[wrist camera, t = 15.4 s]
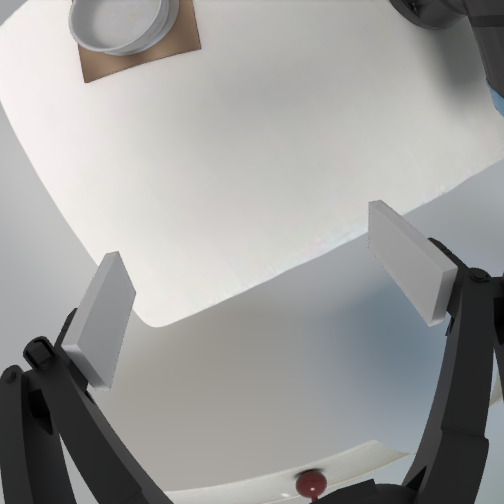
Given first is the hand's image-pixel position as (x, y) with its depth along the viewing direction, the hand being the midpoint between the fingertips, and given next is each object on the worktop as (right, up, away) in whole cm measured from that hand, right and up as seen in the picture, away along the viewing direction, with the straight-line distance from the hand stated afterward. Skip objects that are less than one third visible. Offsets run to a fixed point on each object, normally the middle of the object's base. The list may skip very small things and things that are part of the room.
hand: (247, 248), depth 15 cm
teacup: (-15, +30, +12) cm, 36 cm away
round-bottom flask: (+24, -94, +90) cm, 132 cm away
